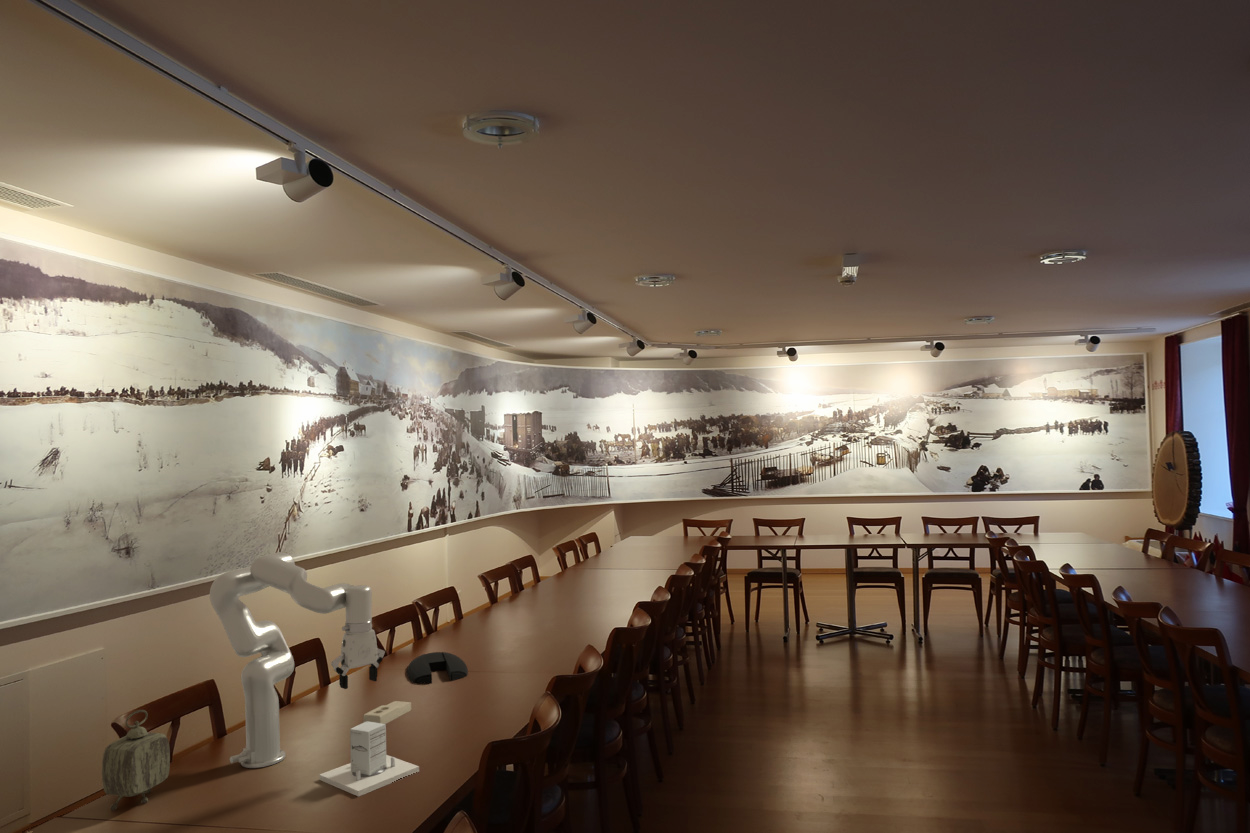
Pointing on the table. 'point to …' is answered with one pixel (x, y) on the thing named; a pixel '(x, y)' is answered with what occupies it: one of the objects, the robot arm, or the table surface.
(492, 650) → the table surface
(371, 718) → the electrical outlet
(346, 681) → the robot arm
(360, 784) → the locating plate
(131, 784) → the tabletop clock
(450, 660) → the docking station
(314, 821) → the table surface
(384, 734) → the supplement box
